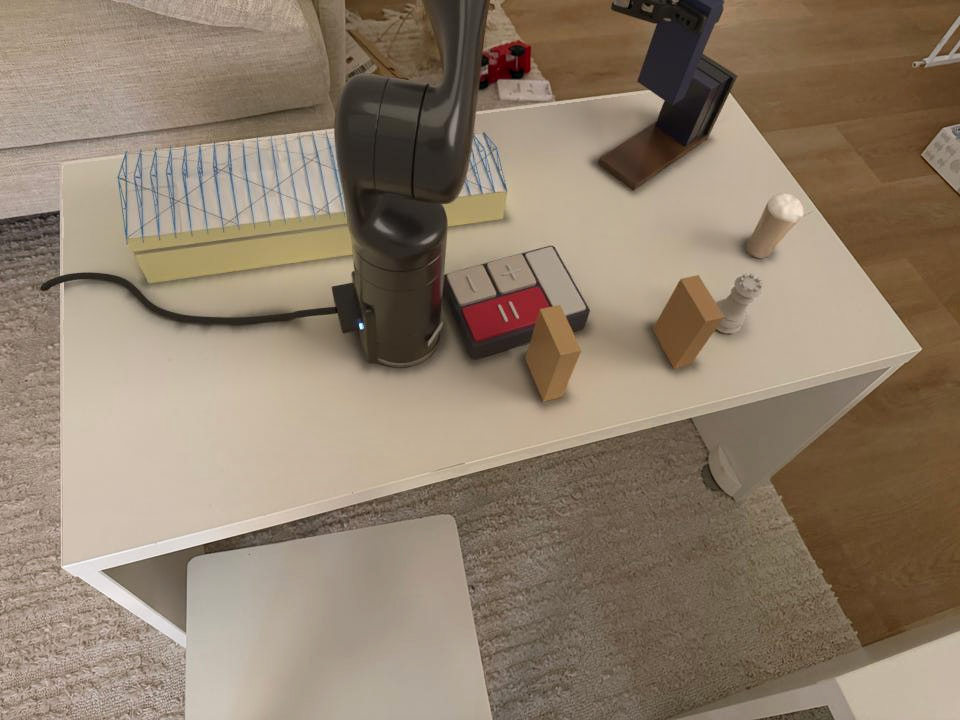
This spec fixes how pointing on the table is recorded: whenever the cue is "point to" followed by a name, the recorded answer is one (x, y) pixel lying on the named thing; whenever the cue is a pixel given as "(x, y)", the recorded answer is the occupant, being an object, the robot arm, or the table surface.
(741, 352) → the table surface
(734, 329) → the rook chess piece
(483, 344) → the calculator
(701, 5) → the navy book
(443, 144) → the robot arm
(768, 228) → the milkshake
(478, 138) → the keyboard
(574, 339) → the tan blocks
